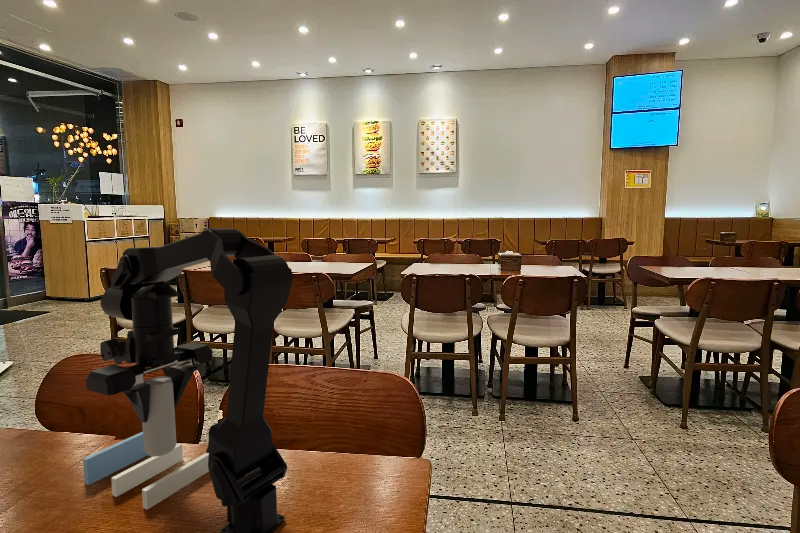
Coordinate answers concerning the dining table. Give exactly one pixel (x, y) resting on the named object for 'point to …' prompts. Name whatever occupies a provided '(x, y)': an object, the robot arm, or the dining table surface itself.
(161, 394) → the beverage can
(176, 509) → the dining table surface
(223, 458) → the robot arm
